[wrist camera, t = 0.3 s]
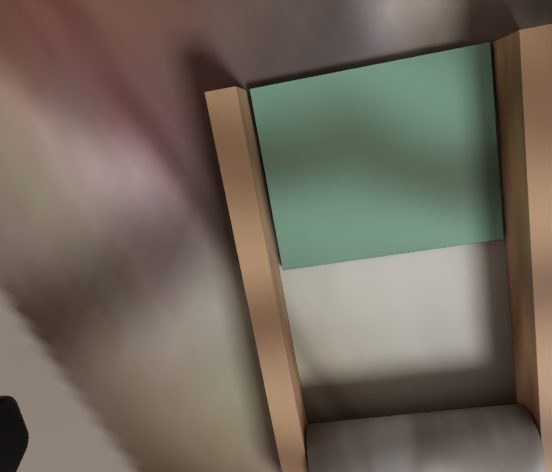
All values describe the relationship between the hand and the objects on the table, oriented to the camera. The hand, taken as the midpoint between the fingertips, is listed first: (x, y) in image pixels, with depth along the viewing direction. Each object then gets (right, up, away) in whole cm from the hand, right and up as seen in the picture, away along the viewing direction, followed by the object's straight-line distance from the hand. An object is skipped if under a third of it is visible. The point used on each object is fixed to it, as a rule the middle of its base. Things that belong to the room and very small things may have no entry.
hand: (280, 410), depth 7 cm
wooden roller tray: (+5, 0, +14) cm, 15 cm away
